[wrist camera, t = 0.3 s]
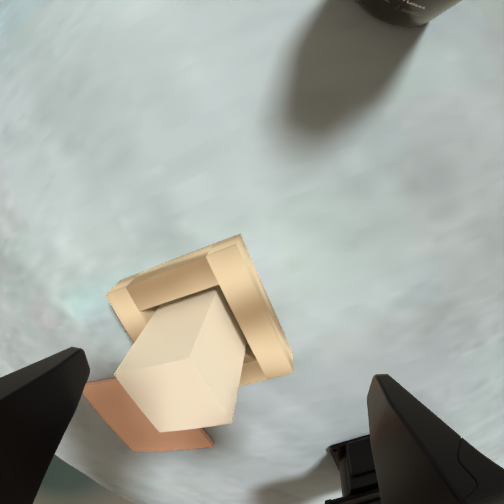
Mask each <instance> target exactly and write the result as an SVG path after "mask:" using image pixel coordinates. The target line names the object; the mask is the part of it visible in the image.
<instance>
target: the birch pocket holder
mask: <svg viewBox="0 0 504 504" xmlns="http://www.w3.org/2000/svg"><path fill="white" fill-rule="evenodd" d="M216 285H220V287H221V290H222V292H223V294H224V296H225V298H226V300H227V302H228V304H229V306H230V308H231V310H232V312H233V314H234V316H235V318H236V320H237V322H238V324H239V326H240V328H241V330H242V332H243V334H244V336H245V338H246V340H247V341H248V343H249V344H246V349H245V355H244V360H243V366H242V372H241V377H240V383H239V386H243V385H247V384H252V383H256V382H260V381H264V380H268V379H272V378H276V377H280V376H283V375H287V374H291V373H293V353H292V350H291V348H290V346H289V344H288V341H287V339H286V337H285V335H284V332H283V330H282V328H281V326H280V323H279V321H278V319H277V316H276V314H275V312H274V310H273V307H272V305H271V303H270V301H269V298H268V296H267V294H266V291H265V289H264V287H263V285H262V282H261V280H260V278H259V275H258V273H257V271H256V269H255V266H254V264H253V262H252V259H251V257H250V255H249V253H248V250H247V248H246V246H245V244H244V241H243V239H242V237H241V234H238V235H236V236H233V237H231V238H228V239H225V240H223V241H220V242H218V243H215V244H212V245H210V246H207V247H205V248H202V249H199V250H197V251H194V252H192V253H189V254H187V255H184V256H181V257H179V258H176V259H174V260H171V261H169V262H166V263H164V264H161V265H159V266H156V267H154V268H151V269H149V270H146V271H143V272H141V273H138V274H136V275H133V276H131V277H128V278H126V279H124V280H121V281H119V282H118V283H117V284H116V285H115V286H114V287H113V288H112V289H111V290H110V291H109V292H108V293H107V294H106V297H107V299H108V300H109V302H110V304H111V306H112V307H113V309H114V311H115V312H116V314H117V316H118V318H119V319H120V321H121V323H122V324H123V326H124V327H125V329H126V331H127V332H128V334H129V336H130V337H131V339H132V340H133V342H134V343H135V341H136V340H137V338H138V337H139V335H140V334H141V332H142V331H143V329H144V328H145V326H146V325H147V323H148V322H149V320H150V319H151V317H152V316H153V314H154V313H155V311H156V310H157V309H158V307H157V305H160V304H163V303H166V302H169V301H172V300H175V299H178V298H181V297H184V296H187V295H190V294H193V293H196V292H199V291H202V290H205V289H207V288H210V287H213V286H216Z"/></svg>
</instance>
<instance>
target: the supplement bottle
mask: <svg viewBox="0 0 504 504" xmlns="http://www.w3.org/2000/svg"><path fill="white" fill-rule="evenodd" d="M358 1H359V3H360V4H361V5H362V6H363V7H364V8H365V9H366V10H368V11H369V12H370V13H371V14H373V15H374V16H376V17H378V18H379V19H381V20H383V21H385V22H388V23H391V24H393V25H397V26H403V27H416V26H420V25H423V24H425V23H427V22H429V21H431V20H432V19H434V18H435V17H437V16H439V15H440V14H442V13H443V12H445V11H446V10H448V9H449V8H451V7H452V6H454V5H456V4H457V3H459V2H460V1H462V0H358Z"/></svg>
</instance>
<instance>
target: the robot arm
mask: <svg viewBox="0 0 504 504" xmlns="http://www.w3.org/2000/svg"><path fill="white" fill-rule="evenodd" d="M89 374H90V368H89V365H88V361H87V358H86V355H85V352H84V350H83V349H81V348H76V347H70V348H68V349H66V350H63V351H61V352H59V353H57V354H54V355H52V356H50V357H47V358H45V359H43V360H40V361H38V362H36V363H33V364H31V365H29V366H27V367H24V368H22V369H20V370H17V371H15V372H13V373H10V374H8V375H6V376H3V377H1V378H0V504H33V502H34V499H35V497H36V495H37V492H38V490H39V488H40V485H41V483H42V480H43V478H44V476H45V474H46V471H47V469H48V467H49V465H50V463H51V461H52V458H53V456H54V454H55V452H56V450H57V448H58V446H59V443H60V441H61V439H62V437H63V435H64V433H65V431H66V429H67V427H68V425H69V423H70V421H71V419H72V417H73V415H74V413H75V411H76V408H77V406H78V403H79V400H80V398H81V395H82V393H83V390H84V387H85V385H86V382H87V380H88V377H89ZM367 407H368V417H369V429H370V435H368V436H365V437H362V438H358V439H355V440H351V441H348V442H344V443H341V444H337V445H333V446H331V447H330V452H331V454H332V456H333V458H334V461H335V463H336V465H337V467H338V469H339V471H340V476H341V486H342V496H343V497H341V498H337V499H333V500H331V499H330V500H325V504H504V469H503V468H502V467H500V466H499V465H497V464H496V463H494V462H493V461H491V460H490V459H489V458H487V457H486V456H484V455H483V454H482V453H480V452H479V451H478V450H477V449H475V448H474V447H473V446H472V445H470V444H469V443H468V442H467V441H466V440H464V439H463V438H461V436H460V435H458V434H457V433H456V432H455V431H454V430H453V429H451V428H450V427H449V426H448V425H447V424H446V423H444V422H443V421H442V420H441V419H440V418H438V417H437V416H436V415H435V414H434V413H433V412H431V411H430V410H429V409H428V408H427V407H426V406H424V405H423V404H422V403H421V402H420V401H419V400H417V399H416V398H415V397H414V396H413V395H412V394H410V393H409V392H408V391H407V390H406V389H404V388H403V387H402V386H401V385H400V384H399V383H397V382H396V381H395V380H394V379H393V378H392V377H390V376H389V375H388V374H376V375H374V377H373V379H372V382H371V385H370V389H369V392H368V396H367Z"/></svg>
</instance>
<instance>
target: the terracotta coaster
mask: <svg viewBox="0 0 504 504" xmlns="http://www.w3.org/2000/svg"><path fill="white" fill-rule="evenodd" d="M83 395H84V396H85V397H86V399H87V400H88V401H89V402H90V403H91V405H92V406H93V407H94V408H95V410H96V411H97V412H98V413H99V414H100V416H101V417H102V418H103V419H104V420H105V421H106V422H107V424H108V425H109V426H110V427H111V428H112V429H113V430H114V431H115V433H116V434H117V435H118V436H119V437H120V438H121V439H122V440H123V441H124V442H125V443H126V444H127V445H128V447H129V448H130V449H131V450H132V451H133V452H150V451H171V450H185V449H197V448H207V447H213V445H214V442H213V441H212V440H211V438H210V437H209V436H208V435H207V433H206V432H205V431H204V430H203V428H196V429H188V430H179V431H170V432H159V431H158V430H157V429H156V428H155V426H154V425H153V424H152V423H151V422H150V421H149V419H148V418H147V417H146V416H145V414H144V413H143V412H142V411H141V410H140V408H139V407H138V406H137V405H136V403H135V402H134V401H133V399H132V398H131V397H130V396H129V394H128V393H127V392H126V390H125V389H124V388H123V386H122V385H121V384H120V382H119V381H118V380H117V378H112V379H106V380H100V381H94V382H88V383H86V385H85V387H84V390H83Z"/></svg>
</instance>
